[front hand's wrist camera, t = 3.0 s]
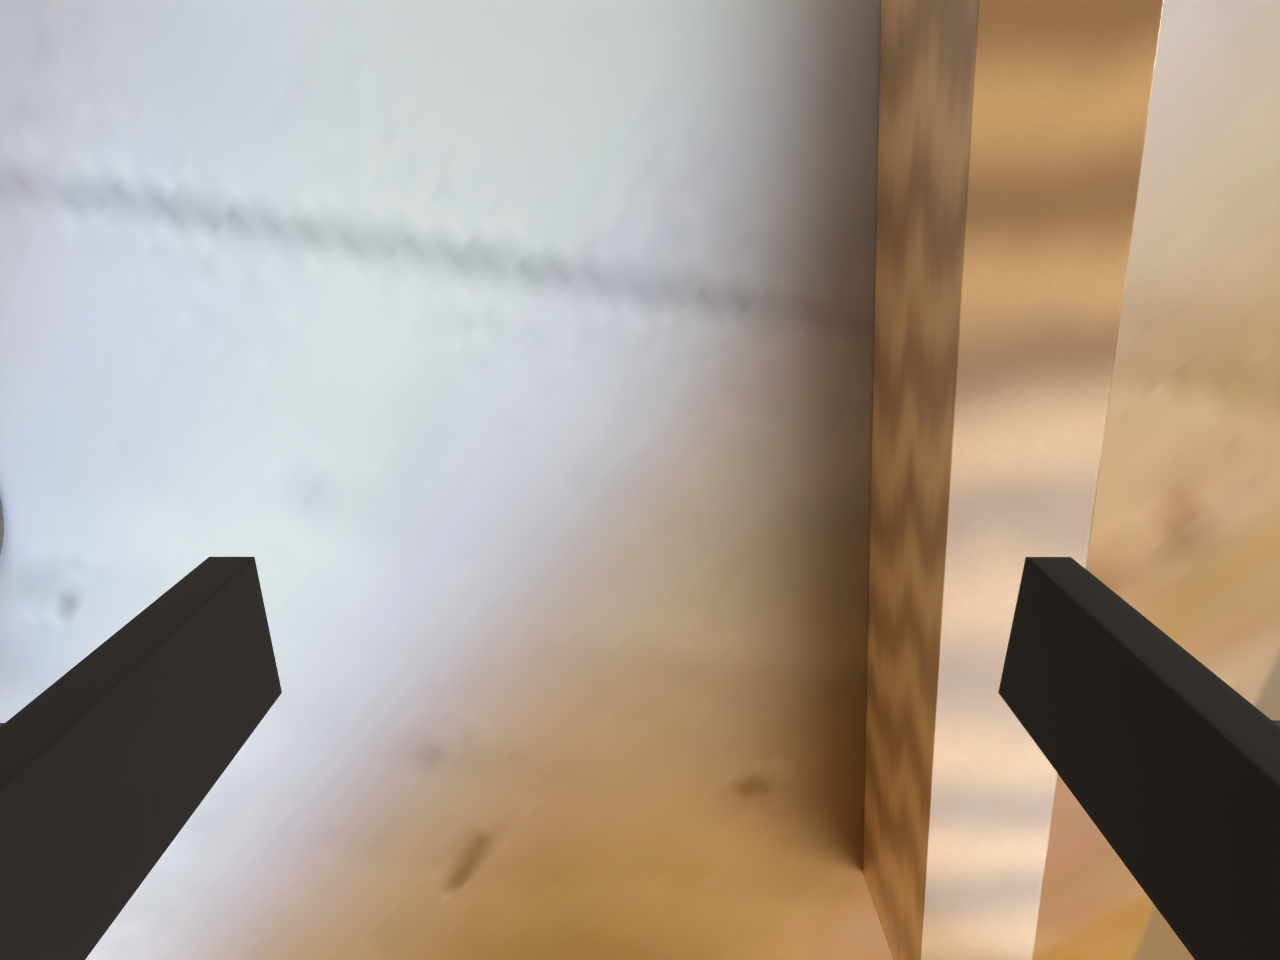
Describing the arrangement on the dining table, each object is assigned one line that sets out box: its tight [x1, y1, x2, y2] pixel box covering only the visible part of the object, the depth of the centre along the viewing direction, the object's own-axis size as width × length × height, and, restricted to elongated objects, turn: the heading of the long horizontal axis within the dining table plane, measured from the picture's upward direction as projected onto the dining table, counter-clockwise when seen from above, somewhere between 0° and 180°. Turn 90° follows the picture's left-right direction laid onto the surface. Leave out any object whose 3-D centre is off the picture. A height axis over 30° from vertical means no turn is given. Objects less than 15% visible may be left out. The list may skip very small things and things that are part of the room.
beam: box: [863, 0, 1164, 960], centre depth 27 cm, size 59×5×8 cm, turn 5°
